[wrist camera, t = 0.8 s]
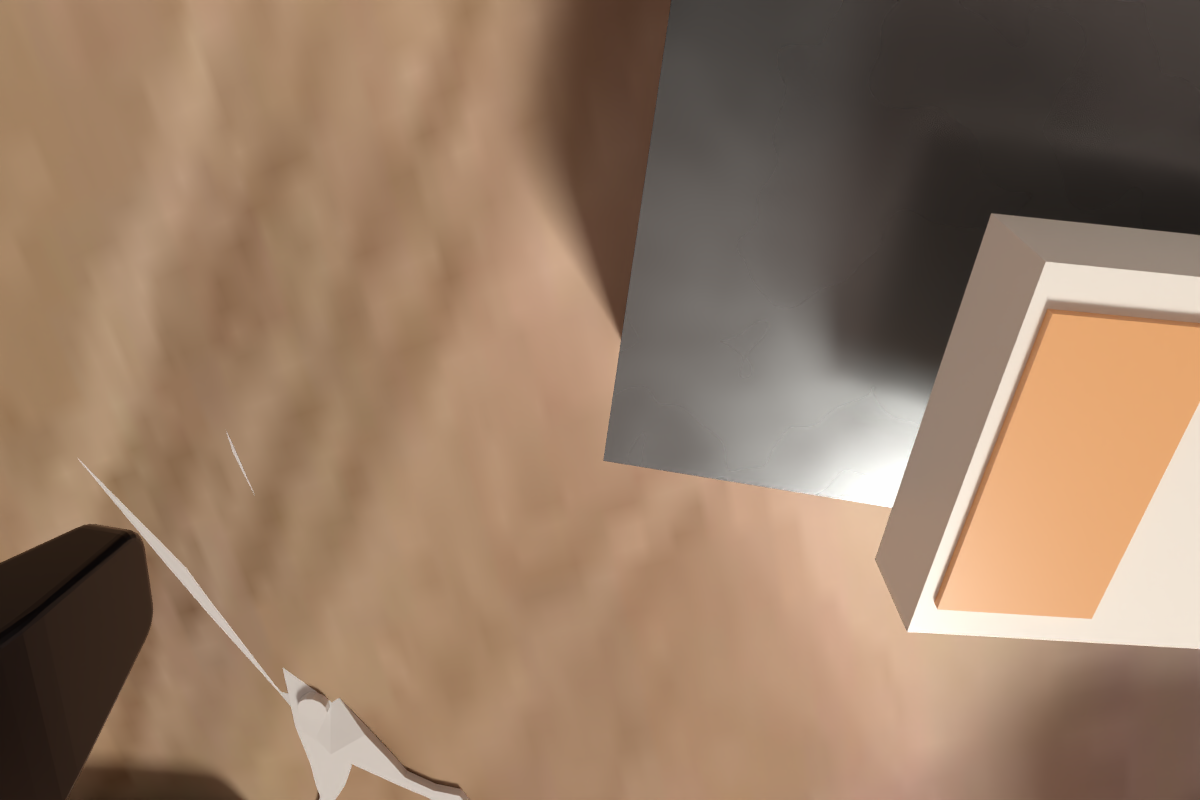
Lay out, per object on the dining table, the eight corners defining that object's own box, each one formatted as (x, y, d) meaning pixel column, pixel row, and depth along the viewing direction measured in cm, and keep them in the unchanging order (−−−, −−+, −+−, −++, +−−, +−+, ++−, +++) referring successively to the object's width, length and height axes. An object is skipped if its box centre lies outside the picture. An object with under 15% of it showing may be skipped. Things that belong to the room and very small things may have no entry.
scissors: (336, 973, 31) (-74, 465, 22) (344, 948, 32) (-51, 446, 23) (654, 936, 28) (326, 338, 19) (656, 910, 29) (339, 322, 20)
